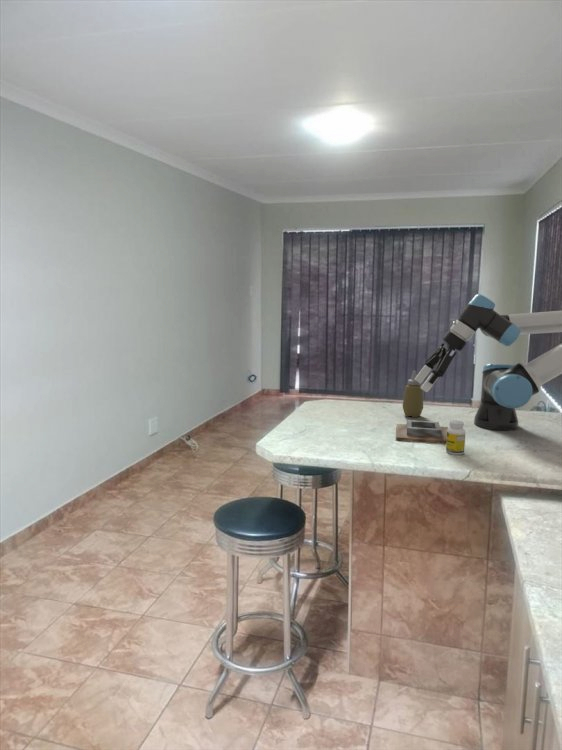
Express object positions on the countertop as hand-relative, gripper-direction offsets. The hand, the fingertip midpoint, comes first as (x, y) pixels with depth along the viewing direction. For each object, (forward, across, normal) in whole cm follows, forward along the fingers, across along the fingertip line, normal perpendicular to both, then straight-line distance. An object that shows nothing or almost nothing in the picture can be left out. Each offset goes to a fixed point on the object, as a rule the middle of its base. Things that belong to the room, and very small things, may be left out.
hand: (420, 385), depth 187 cm
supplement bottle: (+9, +25, +15) cm, 30 cm away
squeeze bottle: (+14, -21, +10) cm, 28 cm away
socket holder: (+13, +6, +9) cm, 17 cm away
